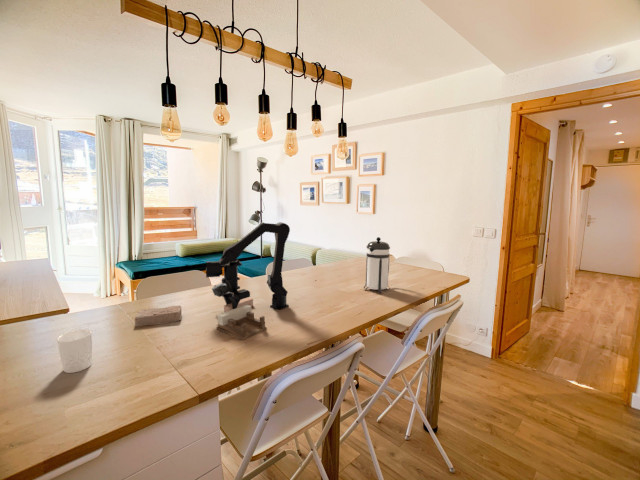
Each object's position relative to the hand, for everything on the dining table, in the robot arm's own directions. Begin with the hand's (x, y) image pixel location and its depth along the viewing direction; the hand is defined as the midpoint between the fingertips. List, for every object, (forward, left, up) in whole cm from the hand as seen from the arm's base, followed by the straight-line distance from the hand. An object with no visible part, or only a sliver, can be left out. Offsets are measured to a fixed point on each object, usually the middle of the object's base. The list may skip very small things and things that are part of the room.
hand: (231, 309), depth 135 cm
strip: (+9, +14, +2) cm, 17 cm away
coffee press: (-73, +36, -1) cm, 81 cm away
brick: (+24, -16, -2) cm, 29 cm away
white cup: (+56, 0, -1) cm, 56 cm away
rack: (+9, +18, -1) cm, 20 cm away
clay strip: (-4, 0, -1) cm, 4 cm away
